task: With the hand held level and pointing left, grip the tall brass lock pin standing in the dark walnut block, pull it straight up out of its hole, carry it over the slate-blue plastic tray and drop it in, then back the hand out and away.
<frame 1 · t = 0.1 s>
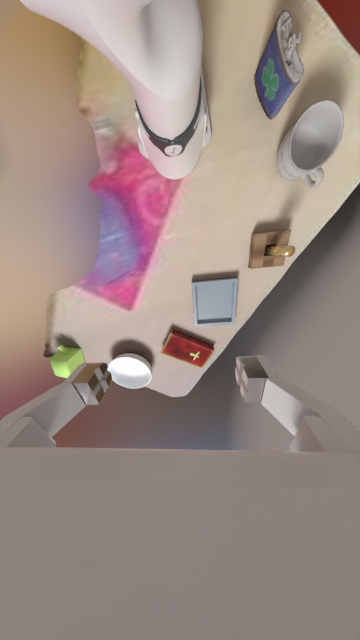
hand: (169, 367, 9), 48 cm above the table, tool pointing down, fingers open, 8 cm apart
tray: (213, 302, 57), on the table
teacup: (292, 165, 39), on the table
hardcover book: (187, 346, 68), on the table
flask: (265, 96, 34), on the table
serving bowl: (134, 363, 75), on the table
lock pin: (276, 250, 42), in the pin block
gearbox: (73, 354, 74), on the table
pin block: (265, 249, 48), on the table
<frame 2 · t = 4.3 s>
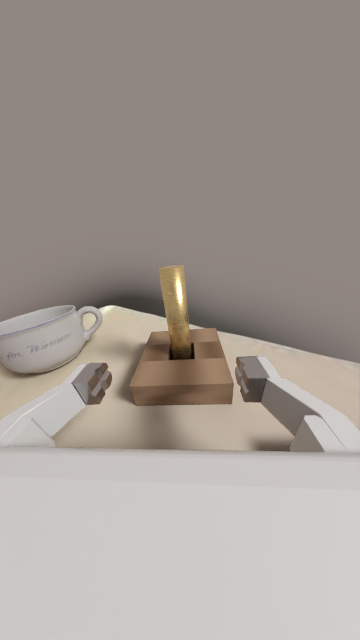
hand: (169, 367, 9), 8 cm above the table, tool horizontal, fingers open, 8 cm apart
teacup: (69, 356, 25), on the table
lock pin: (178, 326, 17), in the pin block
pin block: (183, 368, 20), on the table
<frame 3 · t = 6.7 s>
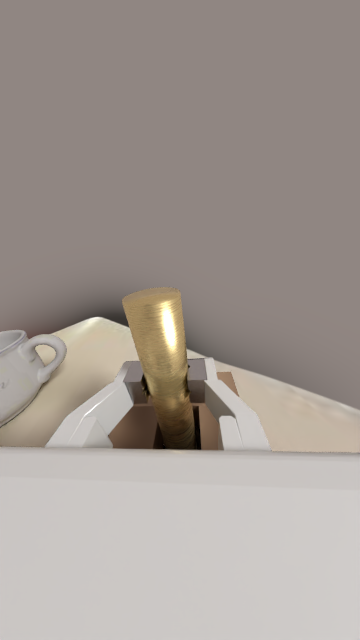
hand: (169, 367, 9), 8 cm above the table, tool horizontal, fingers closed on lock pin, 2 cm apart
teacup: (18, 405, 17), on the table
lock pin: (171, 396, 9), in the pin block, touching gripper
pin block: (182, 447, 12), on the table
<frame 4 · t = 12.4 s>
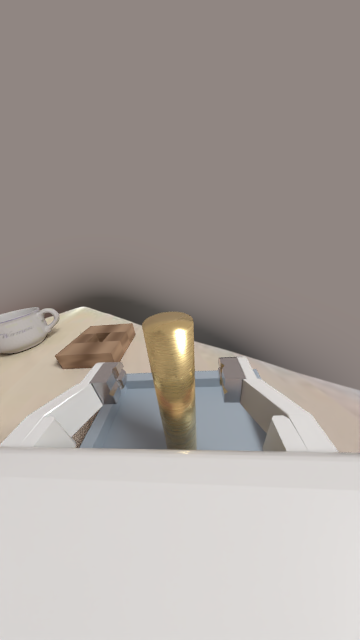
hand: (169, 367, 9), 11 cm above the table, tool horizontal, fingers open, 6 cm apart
tray: (184, 460, 13), on the table
teacup: (35, 344, 35), on the table
lock pin: (177, 407, 10), in the tray, point 8 cm above the table
pin block: (104, 349, 30), on the table
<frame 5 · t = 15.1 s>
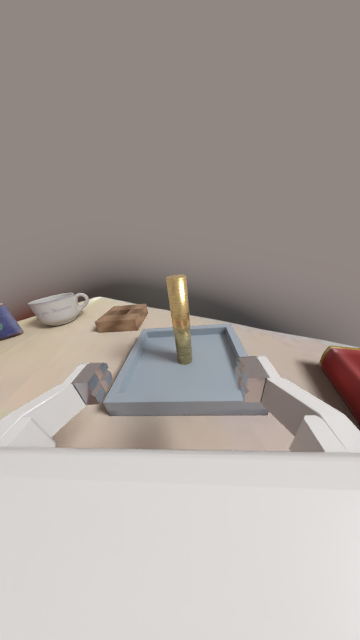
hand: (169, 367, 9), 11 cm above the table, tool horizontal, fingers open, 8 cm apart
tray: (185, 364, 24), on the table
teacup: (70, 320, 46), on the table
flask: (1, 339, 39), on the table
lock pin: (181, 324, 20), in the tray, point 8 cm above the table
pin block: (126, 321, 40), on the table
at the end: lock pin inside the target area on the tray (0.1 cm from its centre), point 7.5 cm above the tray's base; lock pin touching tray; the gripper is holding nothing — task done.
